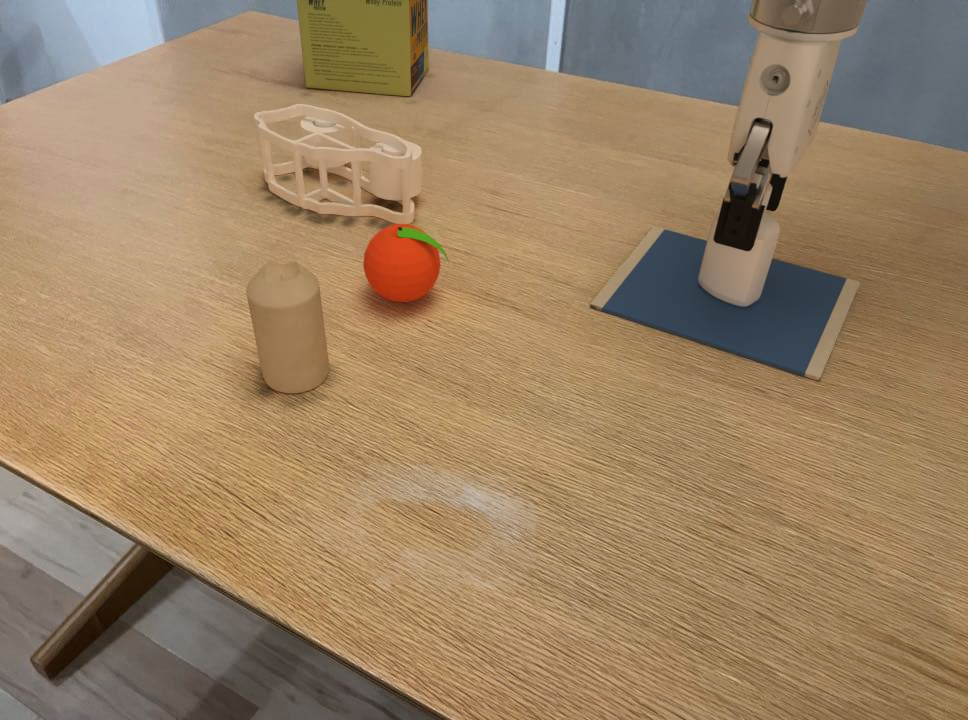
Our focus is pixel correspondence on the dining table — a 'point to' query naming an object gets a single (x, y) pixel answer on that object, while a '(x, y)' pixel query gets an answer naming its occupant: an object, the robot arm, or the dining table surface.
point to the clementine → (402, 262)
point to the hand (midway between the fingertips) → (746, 223)
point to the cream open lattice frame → (342, 163)
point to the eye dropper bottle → (740, 261)
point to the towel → (731, 305)
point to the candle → (288, 327)
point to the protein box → (364, 44)
